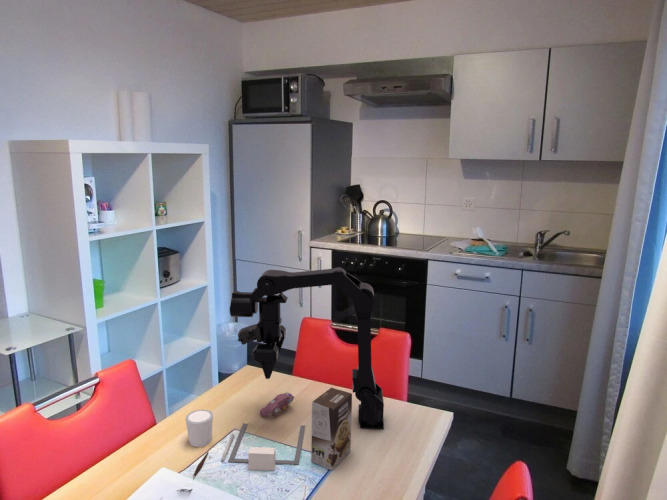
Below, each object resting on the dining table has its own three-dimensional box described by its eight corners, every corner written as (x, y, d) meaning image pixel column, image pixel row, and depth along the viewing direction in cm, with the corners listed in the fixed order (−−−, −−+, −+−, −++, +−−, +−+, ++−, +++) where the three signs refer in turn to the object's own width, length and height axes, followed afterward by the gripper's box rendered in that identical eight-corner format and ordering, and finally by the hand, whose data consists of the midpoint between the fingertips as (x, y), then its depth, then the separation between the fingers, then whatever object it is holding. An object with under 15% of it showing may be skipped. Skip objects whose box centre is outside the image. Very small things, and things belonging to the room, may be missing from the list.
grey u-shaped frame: (305, 426, 131) (305, 411, 130) (297, 471, 112) (297, 454, 112) (236, 424, 132) (236, 409, 131) (217, 468, 113) (217, 452, 112)
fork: (213, 454, 119) (213, 447, 119) (187, 499, 103) (187, 491, 103) (203, 453, 119) (203, 446, 119) (176, 498, 104) (175, 490, 103)
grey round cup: (205, 429, 129) (204, 406, 127) (219, 440, 124) (218, 416, 123) (181, 440, 124) (180, 415, 123) (195, 451, 119) (193, 426, 118)
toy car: (267, 425, 134) (275, 408, 131) (257, 413, 136) (264, 397, 133) (290, 410, 142) (298, 394, 139) (280, 400, 144) (288, 384, 141)
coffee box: (332, 471, 113) (333, 409, 109) (310, 462, 116) (310, 401, 113) (351, 451, 120) (353, 393, 117) (330, 443, 124) (331, 386, 120)
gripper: (247, 305, 138) (248, 356, 141) (231, 328, 120) (233, 386, 123) (285, 306, 138) (286, 357, 141) (275, 330, 119) (276, 387, 122)
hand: (270, 370), depth 132 cm, fingers open, 9 cm apart
